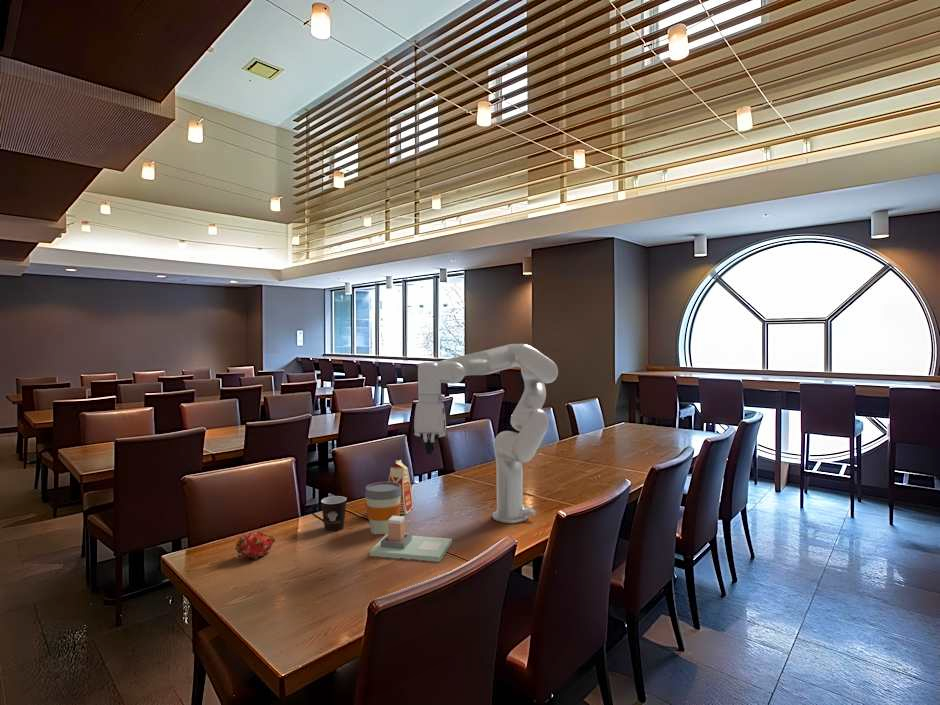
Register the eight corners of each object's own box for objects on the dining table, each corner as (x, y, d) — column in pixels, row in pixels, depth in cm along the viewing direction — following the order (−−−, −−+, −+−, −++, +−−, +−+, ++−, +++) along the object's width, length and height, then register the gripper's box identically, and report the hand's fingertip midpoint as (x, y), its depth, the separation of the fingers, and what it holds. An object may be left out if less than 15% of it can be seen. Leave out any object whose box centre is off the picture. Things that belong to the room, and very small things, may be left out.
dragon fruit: (231, 567, 149) (271, 561, 157) (242, 557, 144) (282, 551, 153) (228, 539, 153) (268, 534, 161) (239, 528, 149) (278, 524, 157)
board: (451, 543, 162) (451, 533, 162) (439, 562, 148) (439, 550, 148) (387, 538, 166) (387, 528, 166) (369, 555, 153) (369, 545, 153)
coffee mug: (351, 525, 178) (351, 497, 178) (337, 534, 170) (337, 504, 170) (323, 521, 182) (323, 494, 182) (308, 530, 174) (308, 501, 174)
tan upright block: (405, 541, 160) (404, 516, 160) (400, 546, 156) (400, 520, 156) (393, 540, 161) (392, 515, 160) (388, 545, 157) (388, 519, 156)
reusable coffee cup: (371, 539, 166) (370, 493, 165) (361, 527, 177) (360, 484, 176) (407, 532, 171) (406, 488, 171) (395, 520, 182) (394, 479, 182)
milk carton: (406, 515, 189) (405, 461, 188) (383, 513, 190) (382, 461, 190) (414, 507, 198) (413, 456, 197) (391, 506, 199) (391, 455, 199)
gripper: (453, 398, 171) (454, 451, 172) (412, 397, 175) (412, 450, 175) (448, 400, 164) (448, 456, 165) (404, 400, 167) (405, 455, 168)
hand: (430, 453), depth 170 cm, fingers closed
